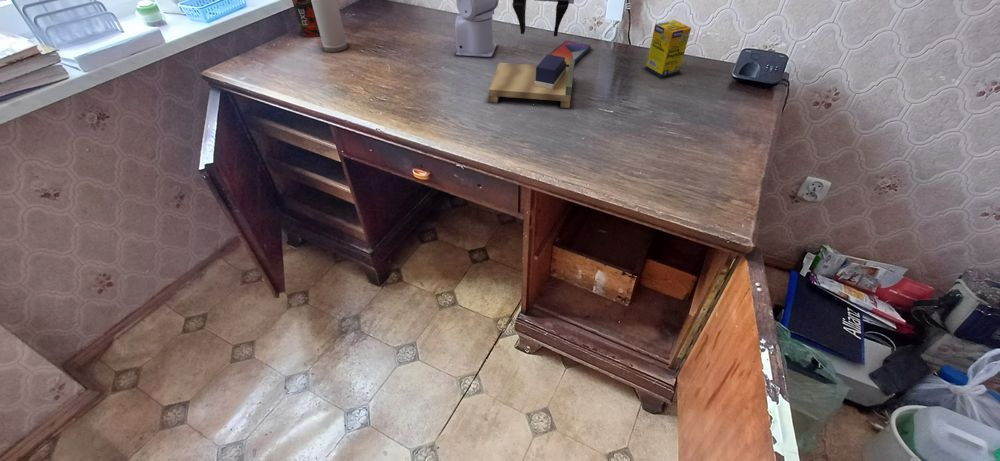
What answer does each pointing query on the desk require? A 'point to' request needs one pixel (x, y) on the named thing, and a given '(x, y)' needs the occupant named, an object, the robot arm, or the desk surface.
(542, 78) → the white-based navy block
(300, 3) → the deodorant
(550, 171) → the desk surface
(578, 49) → the smartphone
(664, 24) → the supplement box
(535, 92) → the shelf
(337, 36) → the travel mug
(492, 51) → the robot arm
